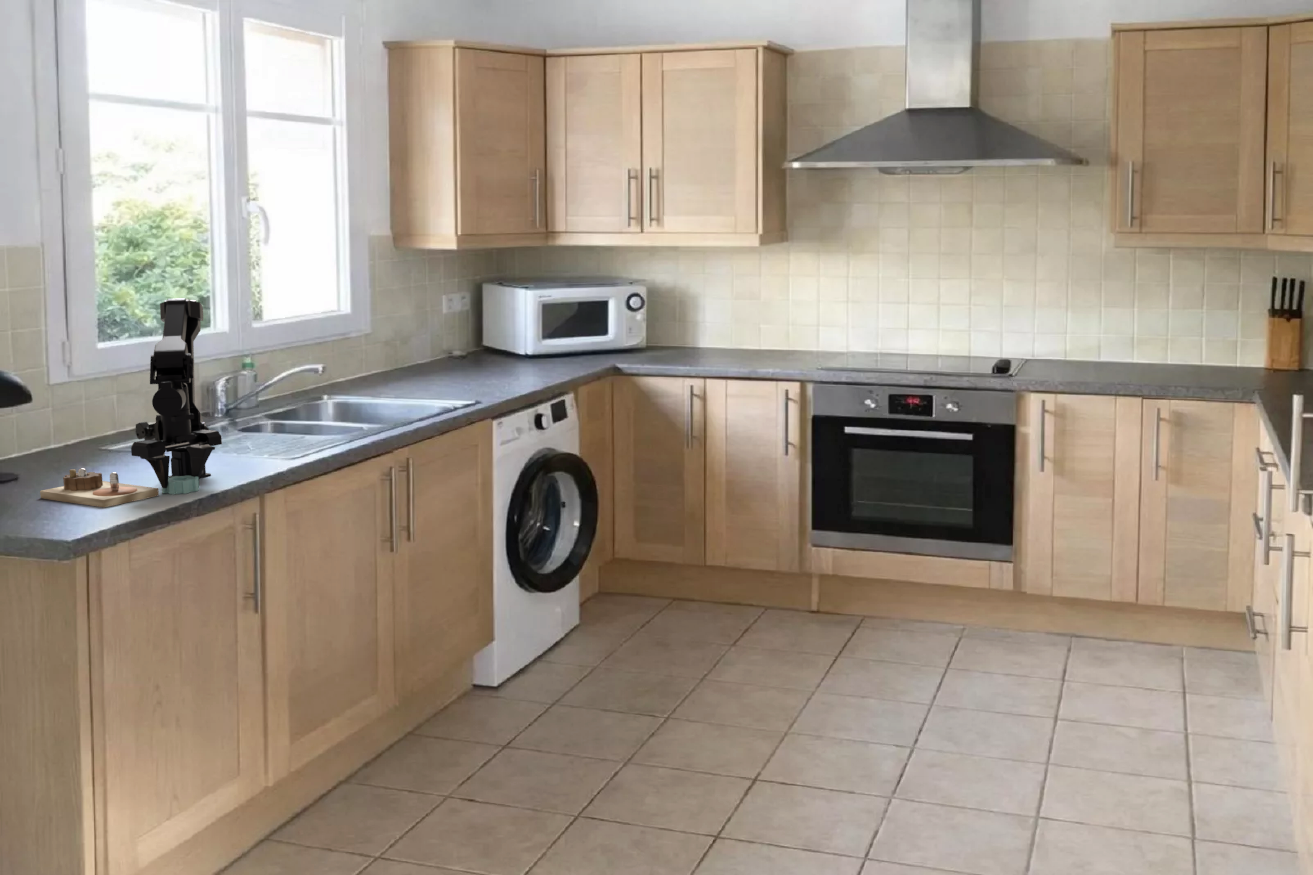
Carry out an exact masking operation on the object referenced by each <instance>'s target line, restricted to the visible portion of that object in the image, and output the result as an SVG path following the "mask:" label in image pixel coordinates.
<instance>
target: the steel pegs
mask: <svg viewBox="0 0 1313 875" xmlns="http://www.w3.org/2000/svg"><path fill="white" fill-rule="evenodd" d="M77 473H78V477H83V476H87V473H88V472H87V470H86V468H84V467H82V468H80V469H78V471H77ZM109 482H110V486H111V490H112V491H118V490H119V483H120V481H119V474H118V473H117V472H114V471H113V472H111V473H109Z"/></svg>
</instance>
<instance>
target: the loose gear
mask: <svg viewBox="0 0 1313 875" xmlns="http://www.w3.org/2000/svg"><path fill="white" fill-rule="evenodd" d="M199 489H200V478H199V477H197V476H195V477H193V476H188V475H186V476H173V477H171V478H169V477H168V485H167V488H162V487H161V492H162V494H169V495H177V494H178V495H179V494H184V495H185V494H190V493H192V492H193V493H194V492H198V491H200V490H199Z"/></svg>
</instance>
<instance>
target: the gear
mask: <svg viewBox="0 0 1313 875" xmlns="http://www.w3.org/2000/svg"><path fill="white" fill-rule="evenodd" d="M68 470H69V471H68V472H69V474H66V475H64V476H63V477H62V478H63V480H62V481H63V486H64V489H65V490H71V491H77V490H91V489H94V488H100V487H101V486H103V482H102V481H103V473H102V472H95V471H90V472H87V476H83V477H78V472H77V469H75V468H74V469H68Z"/></svg>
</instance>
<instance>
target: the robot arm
mask: <svg viewBox="0 0 1313 875" xmlns="http://www.w3.org/2000/svg"><path fill="white" fill-rule="evenodd" d="M159 312H160V313H159V314H160V321H161V322H162V323H163V331H162V339H161V340H160V341H158V342H157V343H156V344H155V345H154V349H153V354H151V355H150V361H149V362H150V366H149V368H150V369H149V371H150V372H149V384H150V385H157V391H156V392H154V395H153V397H152V400H151V404H152V407H153V410H154V411H155V412H156V413H157V414H156V417H155V422H154V423H151V424H149V423H148V421H142V422H137V423H136V424H135V436H136V437H137V439H138V440H139V441H138V440H137V441H134V442H132V444H131V447H130V450H131V451H130V452H131V456H132V457H140V459H141V460H145V461H147V462H148V463H149V464H150V466H151V467H152V470H153V471H154V473H155V475H156V477H157V479H158V482H159V484H160V486H161V489H162V488H167V485H168V478H171V477H173V476H186V475H188V476H193V477H195V476H197V477H199V479H202V478H207V477H211V476H212V473H208V472H207V470H206V469H207V468H206V464H207V461H208V460H209V458H210V456H211V453H212V452H213V451H214V450H215V449H216V446H219V445H223V439H222V435H221V434H220V432H219V430H214V429H213V430H212V429H211V430H210V429H209V427H208V426H207V424H206V422H205V421H204V418H203V415H202V414H201V412H200V409H198V407H197V405H196V402H195V401H196V400H195V399H196V393H195V359H194V358H195V357H194V356H195V352H194V342H195V340H196V338H197V336H198V335H199V334H200V332H201V326H202V325H201V322H203V321H204V308H203V305H202V303H201V302H198V301H197V299H189V298H184V297H183V298H180V297H179V298H178V297H177V298H167V299H164V301H163V302H160V303H159ZM142 439H143V440H142ZM169 452H171V456H170V455H165V454H166V453H169ZM170 468H171V469H170ZM170 472H171V475H170V474H169V473H170Z"/></svg>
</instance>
